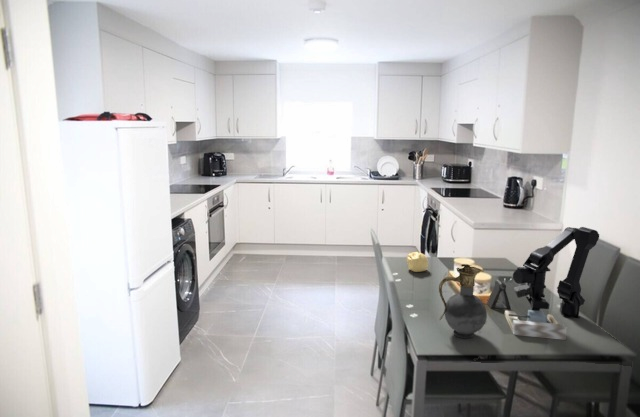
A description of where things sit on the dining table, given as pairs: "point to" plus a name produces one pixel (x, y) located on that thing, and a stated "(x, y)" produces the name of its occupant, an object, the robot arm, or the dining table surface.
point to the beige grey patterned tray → (536, 327)
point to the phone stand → (494, 296)
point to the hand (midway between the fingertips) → (533, 315)
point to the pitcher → (464, 304)
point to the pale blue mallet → (533, 316)
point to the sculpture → (417, 262)
